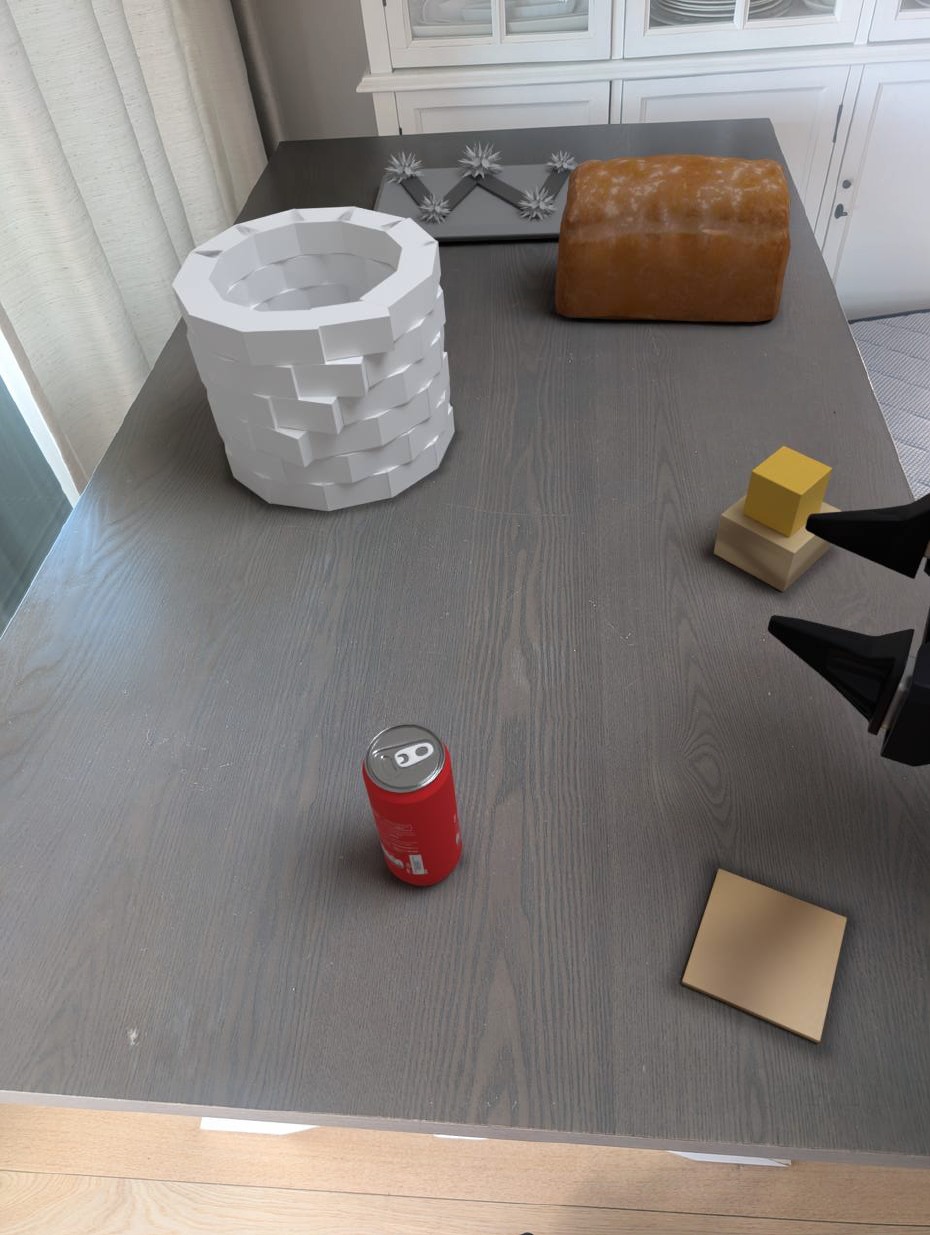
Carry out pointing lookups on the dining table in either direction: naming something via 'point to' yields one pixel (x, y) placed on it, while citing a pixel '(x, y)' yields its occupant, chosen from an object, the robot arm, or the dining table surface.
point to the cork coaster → (766, 954)
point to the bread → (674, 239)
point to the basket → (322, 353)
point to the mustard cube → (786, 490)
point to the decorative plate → (479, 197)
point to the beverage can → (413, 802)
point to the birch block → (767, 547)
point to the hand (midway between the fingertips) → (788, 569)
